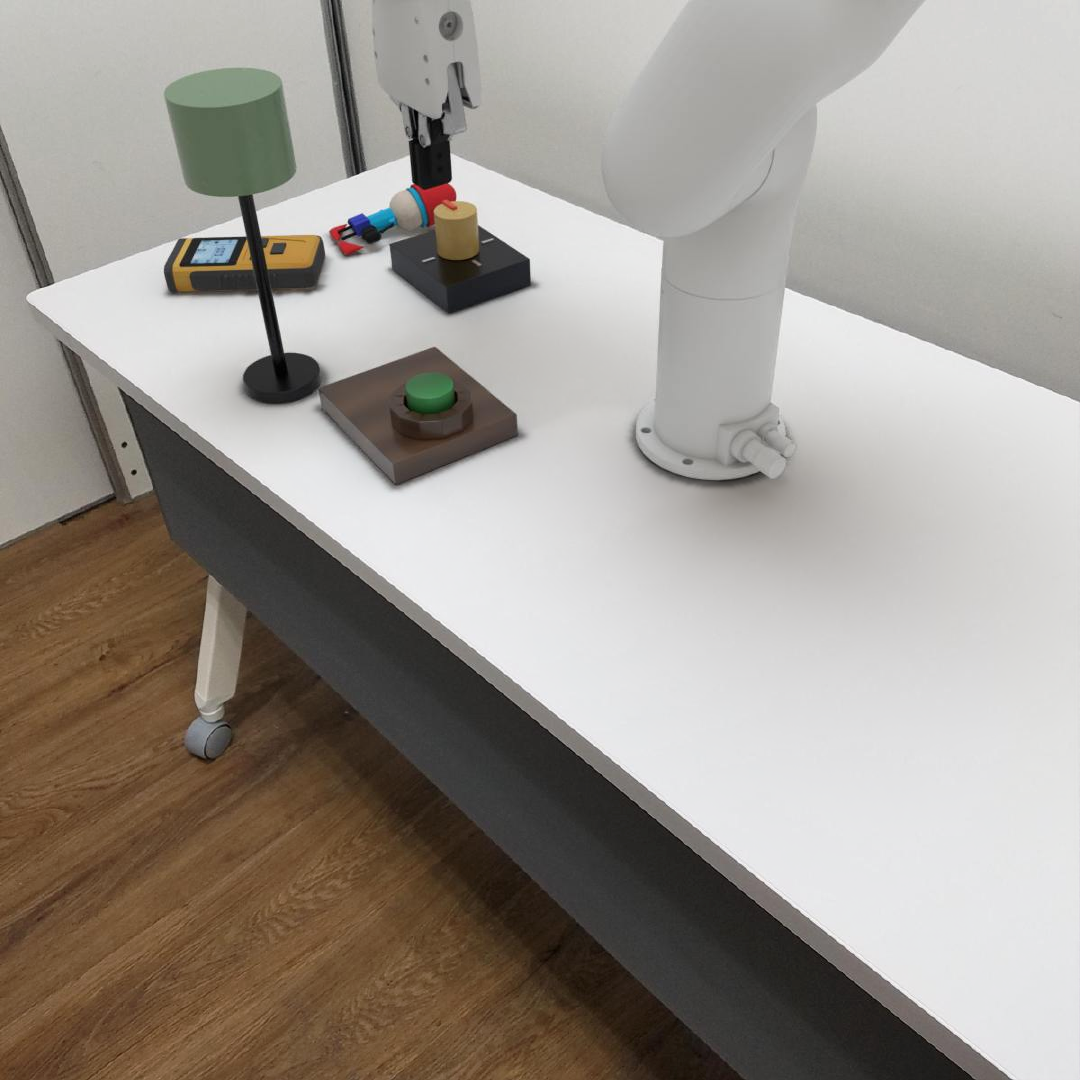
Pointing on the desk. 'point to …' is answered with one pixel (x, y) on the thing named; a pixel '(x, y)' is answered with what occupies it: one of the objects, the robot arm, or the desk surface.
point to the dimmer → (456, 230)
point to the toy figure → (395, 215)
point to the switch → (430, 393)
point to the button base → (416, 416)
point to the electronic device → (243, 263)
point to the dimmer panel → (460, 270)
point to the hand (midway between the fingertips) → (432, 183)
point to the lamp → (243, 188)
